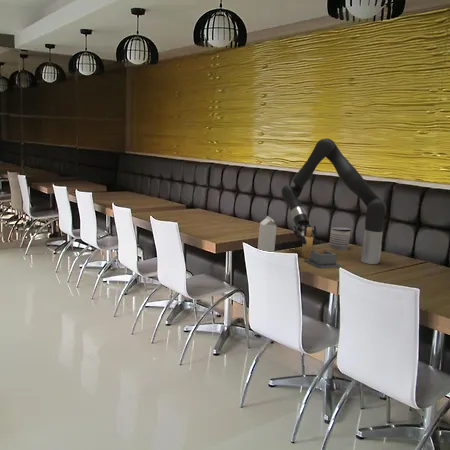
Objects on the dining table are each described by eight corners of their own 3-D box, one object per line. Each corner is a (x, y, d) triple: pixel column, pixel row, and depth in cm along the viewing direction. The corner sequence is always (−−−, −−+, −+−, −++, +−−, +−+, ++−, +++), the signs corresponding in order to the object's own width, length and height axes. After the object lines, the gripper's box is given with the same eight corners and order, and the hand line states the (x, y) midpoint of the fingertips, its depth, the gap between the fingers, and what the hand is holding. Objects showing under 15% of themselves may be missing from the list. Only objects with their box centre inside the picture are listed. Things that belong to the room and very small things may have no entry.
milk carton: (261, 252, 280) (264, 217, 277) (257, 249, 287) (260, 215, 283) (274, 253, 282) (277, 218, 279) (269, 249, 289) (272, 215, 285)
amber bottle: (305, 255, 283) (309, 226, 280) (313, 257, 279) (316, 228, 276) (299, 256, 279) (302, 226, 276) (306, 258, 275) (309, 228, 272)
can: (334, 249, 302) (336, 229, 300) (325, 245, 313) (327, 225, 311) (352, 250, 305) (354, 229, 303) (342, 245, 316) (345, 226, 314)
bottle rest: (304, 261, 269) (305, 249, 268) (325, 260, 275) (326, 248, 274) (318, 268, 258) (320, 256, 256) (340, 267, 263) (341, 255, 262)
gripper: (291, 212, 278) (301, 240, 270) (314, 213, 285) (324, 239, 276) (285, 220, 284) (294, 247, 276) (307, 220, 290) (317, 247, 282)
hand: (309, 243), depth 276 cm, fingers closed on amber bottle, 5 cm apart
